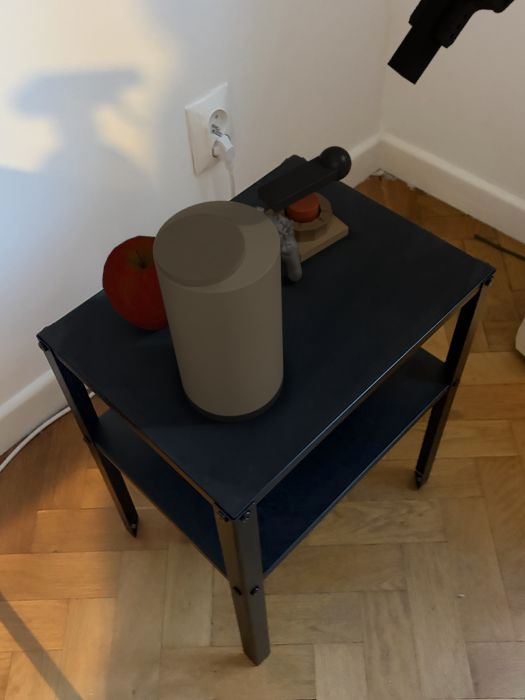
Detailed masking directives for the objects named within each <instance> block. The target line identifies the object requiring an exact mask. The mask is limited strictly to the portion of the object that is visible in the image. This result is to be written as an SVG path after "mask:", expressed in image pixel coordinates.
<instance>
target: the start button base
mask: <svg viewBox="0 0 525 700" xmlns="http://www.w3.org/2000/svg"><path fill="white" fill-rule="evenodd" d="M313 193H314V194H316V195H317V197H318V199H319V213H318V216H317V217H316V219H314V220H313V221H311V222H308V223H297V222H294V221H293V223H292V227H293V231H294V237H295V240H296V241H297V243H298V245H299V256H300V264H301V263H303V262H304V261H306V260H308V259H309V258H311V257H313V256H314V255H316V254H318V253H319V252H321V251H323V250H324V249H326V248H328V247H330V246H331V245H333V244H335V243H337V242H338V241H340V240H342V239H343V238H344V237H346V236H348V235H349V226H348V225H346V223H344V222H343V221H341V219H339V218H338V217H337V216H336V215H335V214H334V213H333V209H332V204H331V201H329V200H328V199H327V198H326V197H325V196H323V195H322V194H321V193H318V192H316V191H315V192H313ZM264 214H265V215H266V216H267V217H269V215H271V216H272V217H273V216H278V215H279V214H280V215H281V216H283V217H284V218H285V219H288V220H291V219H289V217H288V216H287V207H286V208H285V209H283V210H281V211H279V212H277V213H275V212H274V211H273V210H272V209H271V208H269V209H268V210H266V211H264Z"/></svg>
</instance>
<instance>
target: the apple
mask: <svg viewBox="0 0 525 700" xmlns="http://www.w3.org/2000/svg"><path fill="white" fill-rule="evenodd" d="M155 237H156V236H152V235H136V236H134V237H130V238H127V239H125V240H124V241H122V242H121V243H120V244H118V245H116V246H115V247H113V249H112V250H111V252H109V254H108V255H107V258H106V260H105V262H104V264H103V271H102V277H101V283H102V284H101V285H102V289H103V292H104V293H105V295H106V297H107V299H108V302H109V305H110V306H111V307H112V309H113V310H114V311H115V312H117V314H119V315H120V316H121V317H122V318H123V319H125V320H126V321H127V322H128V323H130V324H131V325H133V326H135V327H138V328H142V329H144V330H148V331H160V330H162V329H165V328H166V327H167V326H169V323H168V319H167V315H166V310H165V306H164V301H163V297H162V293H161V288H160V284H159V279H158V275H157V271H156V266H155V262H154V257H153V244H154V240H155Z"/></svg>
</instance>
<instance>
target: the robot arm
mask: <svg viewBox="0 0 525 700" xmlns="http://www.w3.org/2000/svg"><path fill="white" fill-rule="evenodd" d="M514 2H515V0H419V1H418V4H417V5H416V6H415V8H414V9H413V11H412V12H411V14H410V15H409V19H408V21H407V23H408V24H409V26H411V27H410V29H409V30H408V32H407V33H406V35H405V36H404V37H403V39H402V41H401V43H399V45H398V47H397V48H396V49H395V51H394V53H393V54H392V56H391V57H390V59H389V60H388V62H387V63H386V65H387V66H388V67H390V68H391V69H392V70H393V71H394V72H395V73H397V74H398V75H399V76H401V77H402V78H403V79H405V80H406V81H408V82H409V83H411V84H413V86H414V85H416V84H417V83H418V81H419V80H420V78H421V77H422V75H423V74H424V72H425V71H426V69H428V67H429V65H430V64H431V62H432V61H433V60H434V58H435V57H436V55H437V53H438V52H439V51H440V49H441V48H442V47H443V48H444V49H446V50H447V49H448V48H451V46H453V44H454V43H455V42H456V40H457V38H458V37H459V35H461V32H462V31H463V30H464V28H465V27H466V26H467V24H468V22H469V21H470V20H471V18H472V17H473V16H474V14H476V13H477V12H479V11H492V12H493V13H494V14H501V13H503V12H505V11H506V10H507V9H508V8H509V7H510V6H511V5H512V4H513V3H514Z"/></svg>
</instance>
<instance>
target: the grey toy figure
mask: <svg viewBox="0 0 525 700" xmlns="http://www.w3.org/2000/svg"><path fill="white" fill-rule="evenodd" d="M253 208H256V209H257V210H259V211H261V212H262V213H264V212H265V208H264V207H262V206H259V205H258V206H254V207H253ZM268 218H269V219H270V220H271V221H272V222H273V224H274V225H275V227H276V229H277V231H278V234H279V237H280V256H281V262H283V264H284V265H285V266H286V269H287V270H286V271H287V277H288V278H289V279H290V280H291V281H292V282H298V281H300V279H301V278H302V274H303V270H302V265H301V263H300V256H299V245H298V243H297V241H296V240H295V237H294V231H293V227H292V223H293V220H288V219H285V218H284V217H283V216H281V215H280V214H279V215H278V216H273V217H272V216H271V215H269V217H268Z"/></svg>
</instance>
